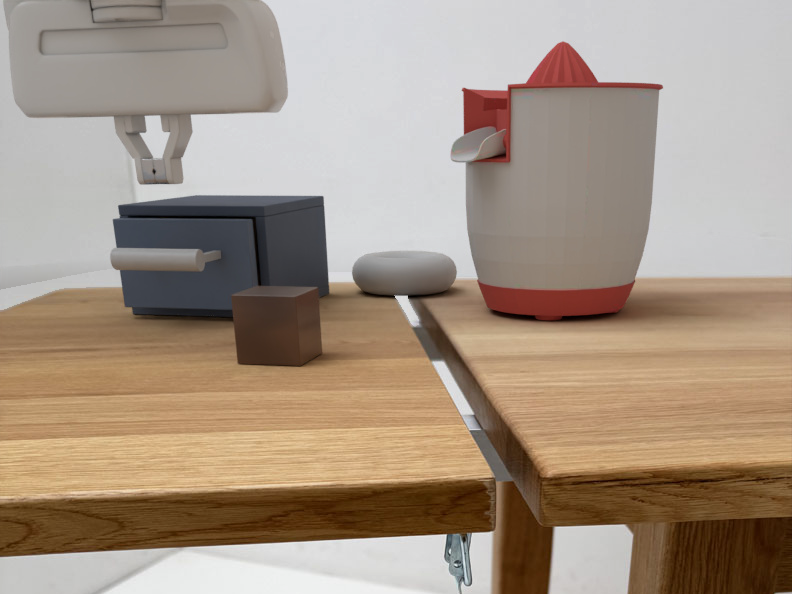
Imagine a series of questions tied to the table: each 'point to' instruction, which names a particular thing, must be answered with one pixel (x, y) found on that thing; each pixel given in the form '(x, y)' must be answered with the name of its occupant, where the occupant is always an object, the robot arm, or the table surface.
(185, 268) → the drawer
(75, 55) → the robot arm
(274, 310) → the block
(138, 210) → the cabinet
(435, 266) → the donut
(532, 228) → the citrus juicer
